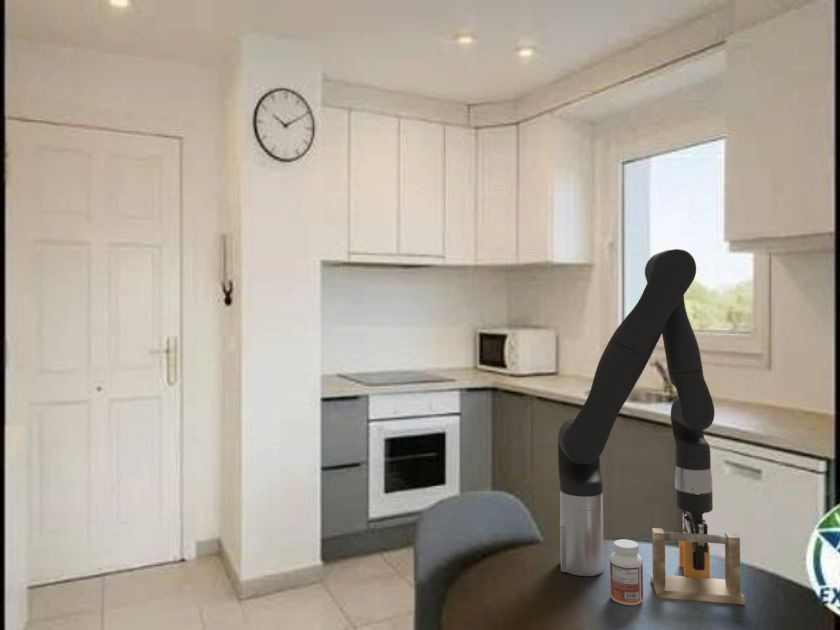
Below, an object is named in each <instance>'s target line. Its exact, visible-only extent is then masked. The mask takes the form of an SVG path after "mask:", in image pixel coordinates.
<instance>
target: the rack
mask: <svg viewBox="0 0 840 630" xmlns="http://www.w3.org/2000/svg"><path fill="white" fill-rule="evenodd" d="M651 529H652V531H651V534H652V535H651V537H652V538H651V539H652V545H651V546H652V548H651V549H652V551H651V552H652V573H650V582H651V584H652V587H653V590H654V592H655V595H656V598H659V599H671V600H672V599H673V600H685V601H686V600H687V601H696V602H710V603H720V604H722V603H723V604H733V605H734V604H735V605H745V596H744V594H743V593H742V590H741V543H740V542H741V538H740V536H739V535H738V534H737V533H736V532H726V531H725V532H724V535H722V534H692V533H684V532H676V531H675V532H672V531H665V530H664V529H663V528H657V527H653V528H651ZM666 541H673V542H675V541H676V542H679V541H687V542H703V543H708V544H719V545H720V544H722V545H723V544H724V557H725V558H724V566H725V567H724V568H725V569H724V570H725V573H724V574H725V577H724V579H723V578H712V577H711V578H701V577H687V576H683V575H672V574H666Z"/></svg>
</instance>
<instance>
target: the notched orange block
mask: <svg viewBox="0 0 840 630" xmlns="http://www.w3.org/2000/svg"><path fill="white" fill-rule="evenodd" d="M698 546H702V544H701V542H698ZM678 553H679V555H678V556H679V557H678V561H679V562H678V563H679V564H678V566H679V568H680V567H682V568H681V569H683V575H684V576H686V577H687V576H688V577H700V578H710V577H711V575H710V573H711V568H710V566H711V565H710V564H711V563H710V561H711V560H710V559H711V558H710V556H711V555H710V543H708V553H705V569H704V570H695V569H694V567H693V550H692V542H687V541H678ZM683 567H684V568H683Z"/></svg>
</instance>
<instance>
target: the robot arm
mask: <svg viewBox="0 0 840 630" xmlns="http://www.w3.org/2000/svg"><path fill="white" fill-rule="evenodd" d="M696 274H697V264H696V260H695V258H694V256H693V255H692V254H691V253H690V252H688V251H687V250H685V249H681V248H672V249H666V250H663V251H661V252H658V253H656V254H654V255H652V256H651V257H650V258H649V260H647V262H646V263H645V268H644V277H645V281H646V285H645V288H644V289H643V292H642V293H641V295H640V298H639V300H638V301H637V303H636V304H635V306H634V307H633V308H632V309H631V311H630V312H629V313H628V314H627V315H626V317H625V318H624V319H623V320H622V321H621V323H620V324H619V325H618V326H617V328H616V329H615V331H614V332H613V334H612V336H611V338H610V339H609V341H608V343H607V345H606V347H605V348H604V350H603V352H602V354H601V356H600V359H599V361H598V363H597V367H596V370H595V373H594V376H593V381H592V384H591V387H590V391H589V393H588V396H587V398H586V400H585V402H584V404H583V405H582V407H581V408H580V410H579V412H578V414H577V415H576V416H575V417H571V418H569V419H567V420H566V421H565V422H563V423H562V425H561V426H560V428H559V431H558V437H557V454H558V455H557V458H558V462H557V463H558V465H557V466H558V477H559V478H558V480H559V490H560V491H559V499H560V500H559V505H560V506H559V507H560V508H559V513H560V514H559V515H560V518H559V531H560V532H559V533H560V534H559V535H560V537H559V538H560V541H559V542H560V545H559V546H560V572H561V573H562V572H563V573H568V574H571V575H574V576H579V577H580V576H582V577H594V576H598V575H601V574H602V573H603V572H604V562H605V561H604V506H603V503H604V500H603V499H604V496H603V495H604V493H603V492H604V491H603V490H604V489H603V478H602V471H601V459H600V456H601V455H602V454H603V452H604V450H605V448H606V445H607V442H608V439H609V437H610V434H611V432H612V430H613V427H614V424H615V423H616V420H617V417H618V415H619V413H620V412H621V410H622V408H623V407H624V405H625V403H626V402H627V400H628V398H629V397H630V395H631V393H632V391H633V390H634V388H635V387H636V385H637V383H638V381H639V379H640V378H641V376H642V374H643V373H644V372H643V371H645V368H646V367H647V364H648V363H649V360H650V359H651V357H652V354H653V352H654V350H655V348H656V346H657V344H658V342H659V341H660V338H661V336H662V341H663V347H664V352H665V360H666V365H667V373H668V378H669V380H670V383H671V384H672V386H674V388H675V389H676V393H677V397H676V398H675V399H674V400H673V402H672V403H671V407H670V422H671V428H672V434H673V438H674V441H675V442H674V443H675V472H674V496H675V497H674V499H675V500H674V501H675V502H674V505H675V507H676V508H677V509H678V510H680V511H681V523H682V525H681V527H682V528H681V531H682V533H692V534H708V529H709V526H708V524H707V523H706V519H704V516H703V514H706V513H710V512H713V509H714V508H713V476H712V468H711V467H712V465H711V464H712V463H711V461H712V460H711V447H710V444H709V443H708V441H707V440H706V439H705V435H704V430H707V429H709V427H711V426H712V424H713V422H714V419H715V405H714V402H713V398H712V395H711V393H710V389H709V387H708V384H707V381H706V380H705V377H704V370H703V363H702V357H701V350H700V347H699V345H698V343H699V342H698V341H697V337H696V335H695V331H694V330H693V327H692V324H691V322H690V319H689V315H688V313H687V308H686V304H685V303H686V302H685V294H686V292H687V291H688V290H689V288H690V287H691V285H692V284H693V282H694V279H695V277H696ZM708 535H709V534H708ZM701 544H702V546H698V542H692V550H693V567H694V569H695V570H704V569H705V553H708V544H709V543H703V542H701Z"/></svg>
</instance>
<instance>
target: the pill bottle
mask: <svg viewBox="0 0 840 630" xmlns="http://www.w3.org/2000/svg"><path fill="white" fill-rule="evenodd" d="M639 547H640V546H639V543H638V542H637V541H635V540H631V539H617V540H614V541H613V550H614V551H613V552H612V553H611V555H610V558H609V569H610V570H609V572H610V573H609V574H610V577H609V578H610V580H609V581H610V582H609V584H610V597H611V600H613V601H614V602H616V603H618V604H620V605H625V606H637V605H639V604H641V603H642V602H643V600H644V575H643V574H644V573H643V571H644V567H643V566H644V565H643V559H642V557H641V555H639Z"/></svg>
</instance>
